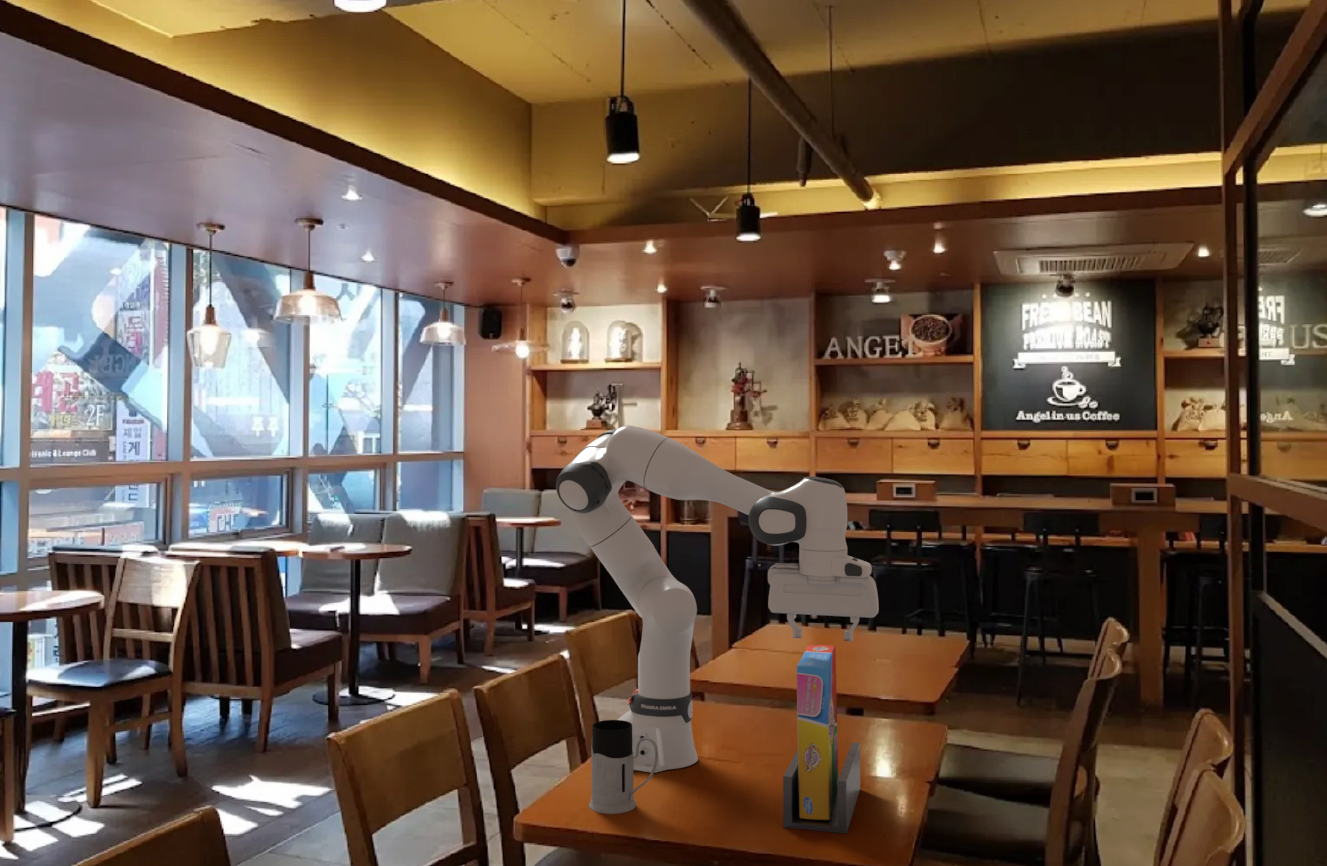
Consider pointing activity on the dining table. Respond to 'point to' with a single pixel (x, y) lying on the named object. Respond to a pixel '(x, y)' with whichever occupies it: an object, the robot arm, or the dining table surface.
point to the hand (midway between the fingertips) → (822, 639)
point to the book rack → (842, 802)
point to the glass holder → (614, 766)
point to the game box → (817, 732)
